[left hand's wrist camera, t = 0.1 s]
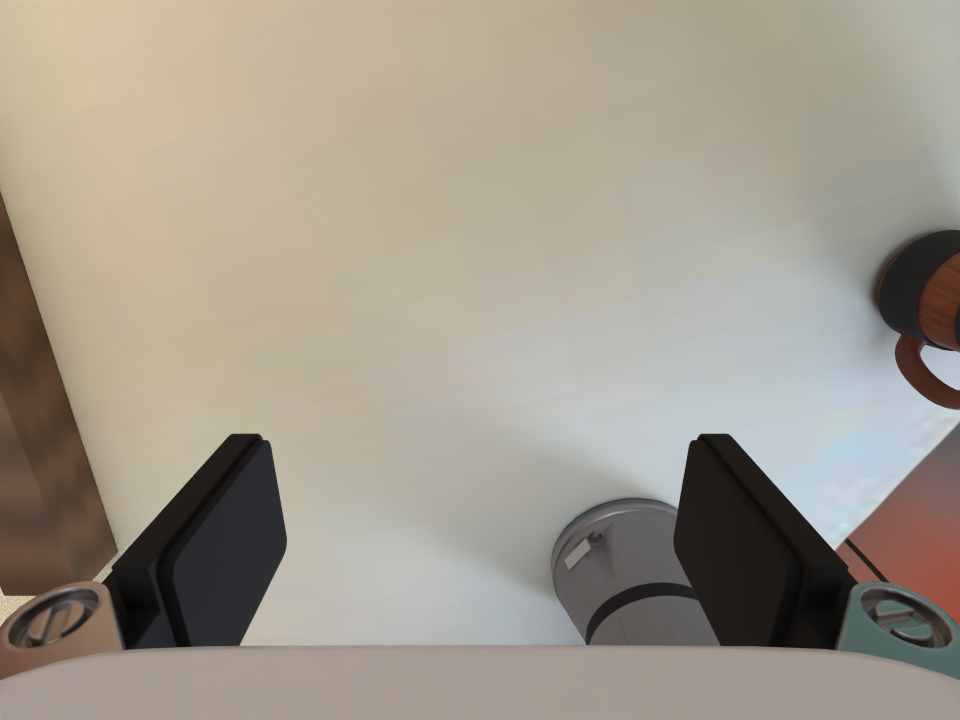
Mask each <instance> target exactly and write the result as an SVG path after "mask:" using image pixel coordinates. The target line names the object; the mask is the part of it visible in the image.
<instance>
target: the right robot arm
mask: <svg viewBox="0 0 960 720" xmlns="http://www.w3.org/2000/svg"><path fill="white" fill-rule="evenodd" d="M677 513H678V510H677V509H675V508H673V507H671V506H669V505H666V504H663V503H660V502H656V501H652V500H645V499H627V500H619V501H614V502H610V503H606V504H603V505H601V506H598V507H596V508H594V509H591V510H589V511H588V512H586V513H584V514H583V515H581V516H580V517H578V518H577V519H576V520H575V521H573V522H572V523H571V524H570V525H569V526H568V527H567V528H566V529H565V531H564V532H563V533H562V535H561V536H560V538H559V539H558V541H557V543H556V545H555V548H554V551H553V555H552V561H551V568H552V575H553V581H554V587H555V591H556V594H557V596H558V598H559V600H560V602H561V603H562V605H563V607H564V608H565V610H566V611H567V613H568V615H569V616H570V618H571V620H572V621H573V623H574V624H575V626H576V628H577V629H578V631H579V632H580V634H581V636H582V637H583V639H584V640H585V642H586V645H620V646H721V645H720V643H719V641H718V639H717V637H716V635H715V633H714V631H713V629H712V627H711V625H710V623H709V621H708V619H707V617H706V615H705V613H704V611H703V609H702V607H701V605H700V603H699V601H698V599H697V597H696V595H695V593H694V591H693V588H692V586H691V584H690V582H689V580H688V578H687V576H686V574H685V572H684V570H683V568H682V566H681V564H680V562H679V560H678V558H677V556H676V554H675V550H674V545H673V536H674V530H675V524H676V519H677ZM844 542H845V543H846V544H847V545H848V546H849V547H850V548H851V549H852V550H853V551H854V552H855V553H856V554H857V556H858V557H859V558H860V559H861V560H862V561H863V562H864V563H865V564H866V565H867V566H868V567H869V568H870V570H871V571H872V572H873V573H874V574H875V575H876V576H877V577H878V578H879V580H880V581H881V582H886V583H890V582H889V581H888V580H887V579H886V578H885V577H884V576H883V574H882V573H881V572H880V571H879V570H878V569H877V568H876V567H875V566H874V565H873V564H872V563H871V561H870V560H869V559H868V558H867V557H866V556H865V555H864V554H863V553H862V552H861V551H860V550H859V549H858V548H857V547H856V546H855V545H854V544H853V543H852V542H851V541H850V540H849V539H848V538H847V537H846V539H844Z"/></svg>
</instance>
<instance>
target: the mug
mask: <svg viewBox="0 0 960 720" xmlns="http://www.w3.org/2000/svg"><path fill="white" fill-rule="evenodd" d="M877 299H878V305H879V310H880V313H881V315H882V317H883V319H884V321H885V322H886V323H887V324H888V326H889V327H890V328H892V329H893V330H895V331H896V332H898V333H900V334H902V335H901V337H900V338H899V340H898V342H897V345H896V348H895V357H896V362H897V365H898V368H899V369H900V371H901V373H902V374H903V376H904V377H905V379H906V380H907V381H908V382H909V383H910V384H911V385H912V386H913V387H914V388H915V389H916V390H917V391H918V392H919V393H920V394H921V395H923V396H924V397H925V398H927V399H928V400H930V401H932V402H933V403H935V404H937V405H940V406H942V407H945V408H949V409H955V410H960V390H959V391H958V390H955V389H953V388H951V387H949V386H948V385H946V384H945V383H943V382H942V381H941V380H939V379H938V378H937V377H936V376H935V375H933V374H932V373H931V371H930V370H929V369H928V368H927V367H926V365H925V364H924V362H923V361H922V359H921V356H920V352H921V350H922V348H923V347H924V345H929V346H932V347H935V348H939V349H942V350H948V351H957V352H960V230H947V231H941V232H937V233H933V234H931V235H928V236H926V237H924V238H922V239H919V240H918V241H916V242H914V243H912V244H911V245H909V246H908V247H906V248H905V249H903V250H902V251H901V252H900V253H899V254H898V255H897V256H895V258H894V259H893V260H892V261H891V262H890V263H889V265H888V266H887V268H886V269H885V271H884V273H883V275H882V277H881V279H880V283H879V286H878V292H877Z"/></svg>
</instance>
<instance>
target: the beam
mask: <svg viewBox="0 0 960 720" xmlns="http://www.w3.org/2000/svg"><path fill="white" fill-rule="evenodd" d="M117 553H118V551H117V548H116V545H115V542H114V539H113V536H112V533H111V530H110V527H109V524H108V521H107V518H106V515H105V511H104V508H103V505H102V502H101V499H100V496H99V493H98V490H97V487H96V484H95V481H94V478H93V475H92V472H91V469H90V466H89V463H88V460H87V457H86V454H85V451H84V447H83V444H82V441H81V438H80V435H79V432H78V429H77V426H76V423H75V420H74V417H73V414H72V411H71V408H70V405H69V402H68V399H67V396H66V393H65V390H64V387H63V383H62V380H61V377H60V374H59V371H58V368H57V365H56V362H55V359H54V356H53V353H52V350H51V347H50V344H49V341H48V338H47V335H46V332H45V329H44V326H43V322H42V319H41V316H40V313H39V310H38V307H37V304H36V301H35V298H34V295H33V292H32V289H31V286H30V283H29V280H28V277H27V274H26V271H25V268H24V265H23V262H22V258H21V255H20V252H19V249H18V246H17V243H16V240H15V237H14V234H13V231H12V228H11V225H10V222H9V219H8V216H7V213H6V210H5V207H4V204H3V201H2V198H1V194H0V587H1V589H2V592H3V594H4V595H5V596H38V595H40V594H43V593H45V592H47V591H49V590H51V589H53V588H56V587H59V586H62V585H66V584H69V583H74V582H81V581H92V580H93V579H94V578H95V577H96V576H97V574H98V573H99V572H100V571H101V570H102V569H103V568H104V567H105V566H106V565H107V564H108V562H109V561H110V560H111V559H112V558H113V557H114V556H115V555H116V554H117Z"/></svg>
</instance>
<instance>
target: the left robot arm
mask: <svg viewBox="0 0 960 720" xmlns="http://www.w3.org/2000/svg"><path fill="white" fill-rule="evenodd" d="M286 545H287V536H286V530H285V524H284V519H283V513H282V507H281V501H280V496H279V490H278V484H277V478H276V472H275V467H274V461H273V455H272V449H271V445H270V443H269V441H268V440H263V438H262V437H261V435H259V434H231V435H230V436H229V437H228V438H227V439H226V440H225V441H224V442H223V443H222V444H221V445H220V447H219V448H218V449H217V450H216V451H215V452H214V453H213V454H212V455H211V457H210V458H209V459H208V460H207V461H206V462H205V463H204V464H203V466H202V467H201V468H200V469H199V470H198V471H197V472H196V473H195V474H194V476H193V477H192V478H191V479H190V480H189V481H188V482H187V483H186V484H185V486H184V487H183V488H182V489H181V490H180V491H179V492H178V493H177V494H176V496H175V497H174V498H173V499H172V500H171V501H170V502H169V503H168V505H167V506H166V507H165V508H164V509H163V510H162V511H161V512H160V513H159V515H158V516H157V517H156V518H155V519H154V520H153V521H152V522H151V523H150V525H149V526H148V527H147V528H146V529H145V530H144V531H143V532H142V534H141V535H140V536H139V537H138V538H137V539H136V540H135V541H134V542H133V544H132V545H131V546H130V547H129V548H128V549H127V550H126V551H125V552H124V554H123V555H122V556H121V557H120V558H119V559H118V560H117V561H116V562H115V564H114V565H113V566H112V570H113V571H112V572H111V573H110V574H109V575H108V577H107V578H106V579H105V580H104V581H103V582H102V583H99V582H93V581H81V582H74V583H69V584H66V585H62V586H59V587H56V588H53V589H51V590H49V591H47V592H45V593H43V594H40V595H38V596H36V597H35V598H33V599H31V600H30V601H28V602H27V603H25V604H24V605H22V606H21V607H19V608H18V609H17V610H16V611H15V612H14V613H13V614H11V615H10V616H9V617H8V618H7V619H6V620H5V622H4V623H3V624H2V626H1V627H0V720H960V627H959V626H958V624H957V623H956V622H955V620H954V619H953V618H952V617H951V616H950V615H949V614H947V613H946V612H945V611H944V610H943V609H942V608H941V607H939V606H938V605H936V604H935V603H933V602H932V601H930V600H929V599H927V598H925V597H924V596H922V595H920V594H917V593H915V592H913V591H911V590H909V589H907V588H904V587H900V586H898V585H894V584H891V583H886V582H879V581H867V582H861V583H858V582H857V581H856V580H855V579H854V578H853V577H852V575H851V574H850V573H849V572H848V571H847V570H848V566H847V565H846V564H845V562H844V561H843V560H842V559H841V558H840V557H839V556H838V555H837V554H836V552H835V551H834V550H833V549H832V548H831V547H830V546H829V545H828V544H827V542H826V541H825V540H824V539H823V538H822V537H821V536H820V535H819V534H818V532H817V531H816V530H815V529H814V528H813V527H812V526H811V525H810V523H809V522H808V521H807V520H806V519H805V518H804V517H803V516H802V515H801V513H800V512H799V511H798V510H797V509H796V508H795V507H794V506H793V505H792V503H791V502H790V501H789V500H788V499H787V498H786V497H785V496H784V494H783V493H782V492H781V491H780V490H779V489H778V488H777V487H776V486H775V484H774V483H773V482H772V481H771V480H770V479H769V478H768V477H767V476H766V474H765V473H764V472H763V471H762V470H761V469H760V468H759V467H758V466H757V464H756V463H755V462H754V461H753V460H752V459H751V458H750V457H749V455H748V454H747V453H746V452H745V451H744V450H743V449H742V448H741V447H740V445H739V444H738V443H737V442H736V441H735V440H734V439H733V438H732V437H731V436H730V435H729V434H701V435H699V437H698V438H697V440H692V441H691V443H690V445H689V449H688V455H687V461H686V467H685V472H684V478H683V484H682V490H681V496H680V501H679V507H678V513H677V519H676V524H675V530H674V536H673V545H674V550H675V554H676V556H677V558H678V560H679V562H680V564H681V566H682V568H683V570H684V572H685V574H686V576H687V578H688V580H689V582H690V584H691V586H692V588H693V591H694V593H695V595H696V597H697V599H698V601H699V603H700V605H701V607H702V609H703V611H704V613H705V615H706V617H707V619H708V621H709V623H710V625H711V627H712V629H713V631H714V633H715V635H716V637H717V639H718V641H719V643H720V645H721V646H620V645H340V646H239V645H240V643H241V641H242V639H243V637H244V635H245V633H246V631H247V629H248V627H249V625H250V623H251V621H252V619H253V617H254V615H255V613H256V611H257V609H258V607H259V605H260V603H261V601H262V599H263V597H264V595H265V593H266V591H267V588H268V586H269V584H270V582H271V580H272V578H273V576H274V574H275V572H276V570H277V568H278V566H279V564H280V562H281V560H282V558H283V556H284V554H285V550H286Z"/></svg>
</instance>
